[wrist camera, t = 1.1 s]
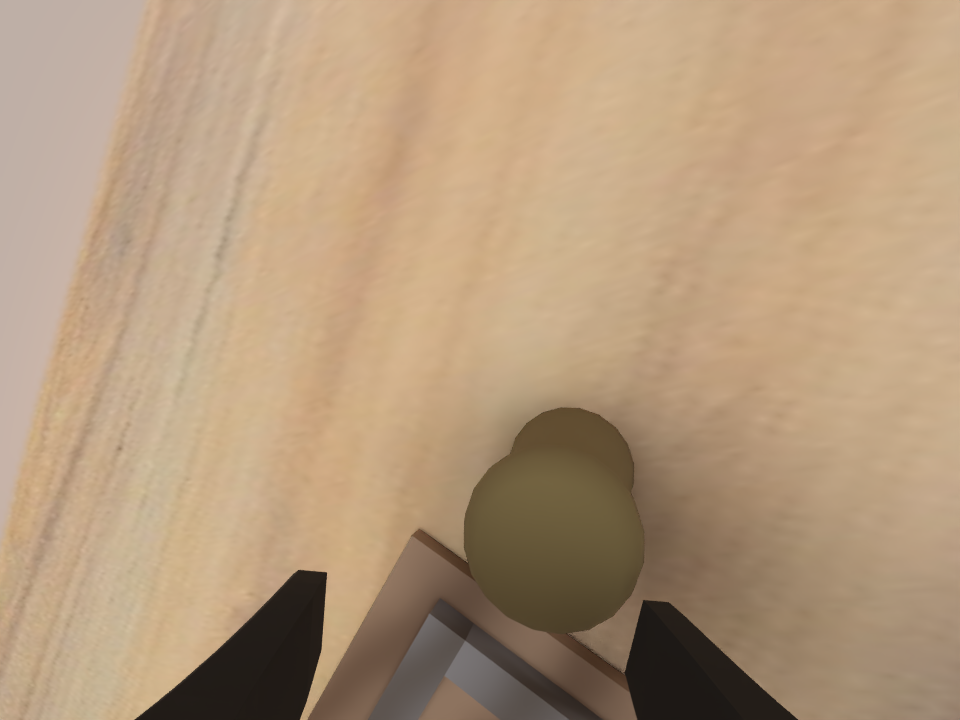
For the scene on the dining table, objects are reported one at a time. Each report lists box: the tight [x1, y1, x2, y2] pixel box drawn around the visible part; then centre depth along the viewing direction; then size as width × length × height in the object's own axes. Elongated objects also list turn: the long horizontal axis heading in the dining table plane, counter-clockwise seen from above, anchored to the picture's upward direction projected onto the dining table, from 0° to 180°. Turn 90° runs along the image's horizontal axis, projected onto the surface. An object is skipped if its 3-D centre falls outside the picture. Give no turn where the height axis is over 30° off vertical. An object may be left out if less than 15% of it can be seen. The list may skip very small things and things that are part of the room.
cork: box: [464, 408, 644, 634], centre depth 17 cm, size 6×6×11 cm
